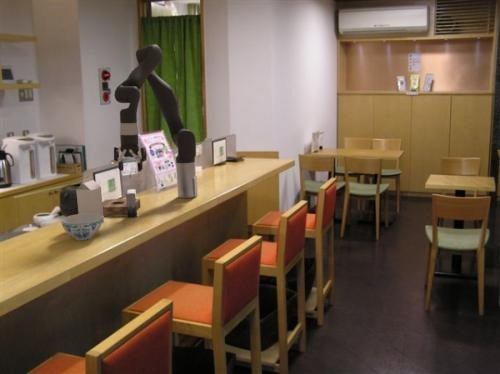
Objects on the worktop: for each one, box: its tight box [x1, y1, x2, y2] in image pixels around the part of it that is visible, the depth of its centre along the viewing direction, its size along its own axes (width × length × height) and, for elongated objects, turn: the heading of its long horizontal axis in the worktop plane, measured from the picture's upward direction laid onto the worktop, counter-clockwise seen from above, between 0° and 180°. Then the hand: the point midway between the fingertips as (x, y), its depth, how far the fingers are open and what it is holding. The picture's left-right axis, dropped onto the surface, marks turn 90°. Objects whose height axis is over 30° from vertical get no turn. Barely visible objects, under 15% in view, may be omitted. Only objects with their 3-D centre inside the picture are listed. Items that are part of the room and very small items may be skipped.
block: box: [102, 198, 142, 217], centre depth 261 cm, size 16×16×4 cm
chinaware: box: [60, 213, 103, 241], centre depth 220 cm, size 15×15×8 cm
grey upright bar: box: [125, 192, 138, 219], centre depth 250 cm, size 4×4×10 cm
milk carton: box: [75, 176, 105, 224], centre depth 240 cm, size 7×7×19 cm
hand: (130, 170), depth 253 cm, fingers open, 8 cm apart
